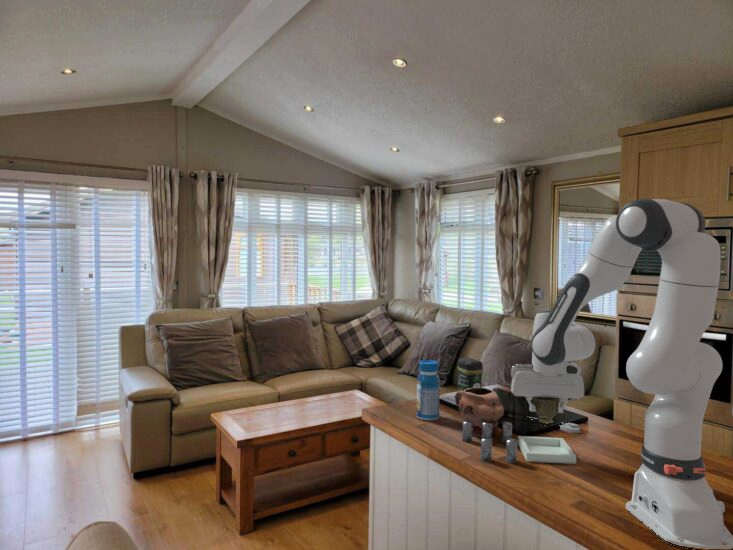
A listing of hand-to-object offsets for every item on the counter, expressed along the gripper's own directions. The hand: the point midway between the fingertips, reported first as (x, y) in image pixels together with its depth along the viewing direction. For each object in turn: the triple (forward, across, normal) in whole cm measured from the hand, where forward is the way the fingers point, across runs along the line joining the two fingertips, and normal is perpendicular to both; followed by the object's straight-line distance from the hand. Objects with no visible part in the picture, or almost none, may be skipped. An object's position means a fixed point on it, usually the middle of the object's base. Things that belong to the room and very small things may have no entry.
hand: (546, 411), depth 147 cm
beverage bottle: (+13, -34, +28) cm, 46 cm away
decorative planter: (+13, -18, +16) cm, 27 cm away
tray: (+12, 0, 0) cm, 12 cm away
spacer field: (+13, -16, 0) cm, 20 cm away
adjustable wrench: (+13, +6, +27) cm, 31 cm away
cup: (+3, 0, 0) cm, 3 cm away
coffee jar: (+13, -18, +43) cm, 48 cm away
